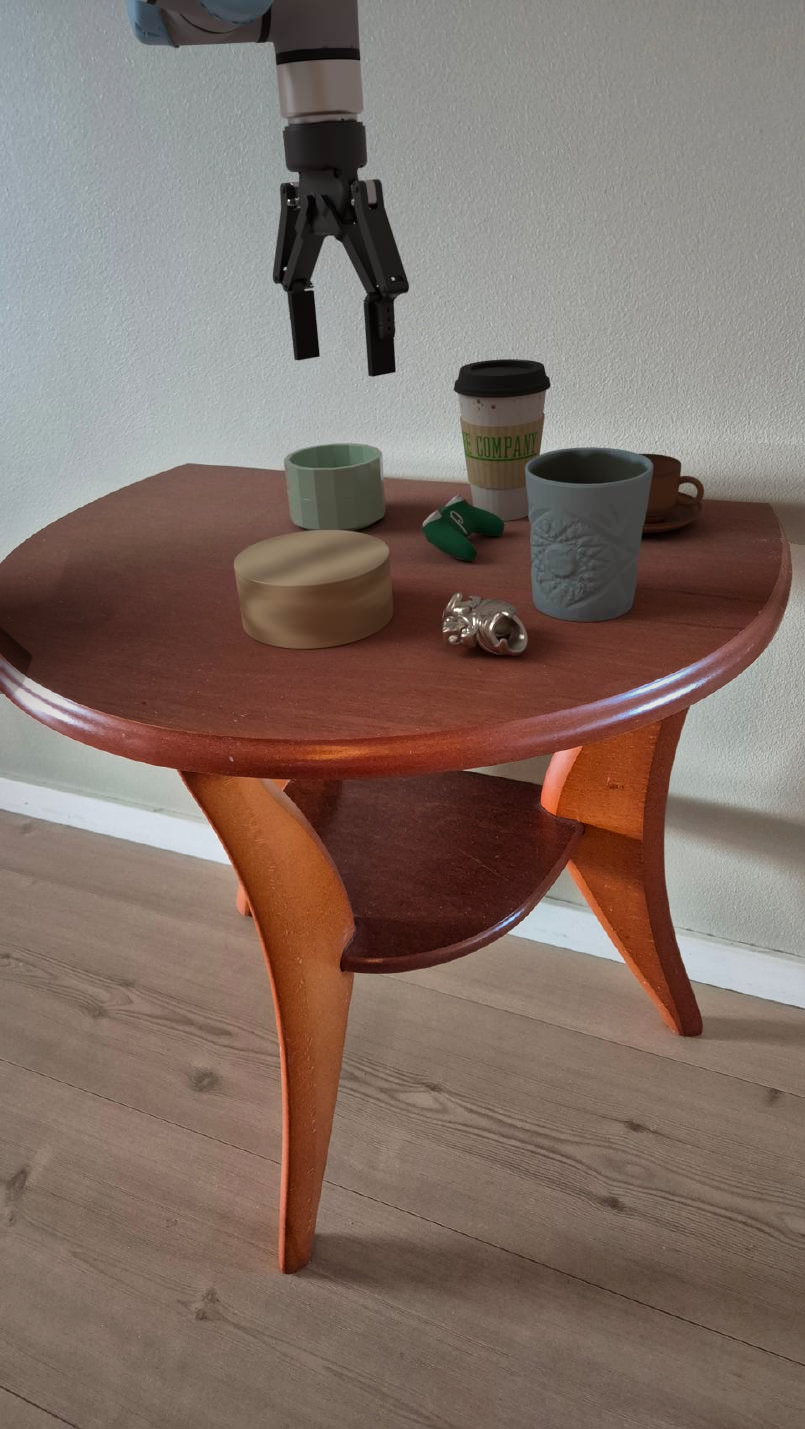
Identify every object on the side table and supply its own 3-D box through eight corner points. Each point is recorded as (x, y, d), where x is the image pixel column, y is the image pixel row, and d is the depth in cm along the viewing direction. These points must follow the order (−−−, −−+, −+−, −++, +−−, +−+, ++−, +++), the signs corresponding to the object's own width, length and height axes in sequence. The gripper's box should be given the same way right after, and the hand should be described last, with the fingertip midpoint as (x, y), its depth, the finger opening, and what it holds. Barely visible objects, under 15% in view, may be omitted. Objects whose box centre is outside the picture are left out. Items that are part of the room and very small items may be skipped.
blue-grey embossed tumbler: (618, 575, 90) (626, 442, 84) (662, 619, 81) (675, 474, 75) (510, 587, 88) (510, 453, 82) (543, 634, 80) (546, 488, 74)
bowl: (274, 520, 108) (266, 457, 105) (349, 499, 114) (344, 438, 110) (326, 543, 101) (319, 475, 98) (404, 519, 107) (400, 454, 103)
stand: (215, 615, 86) (205, 556, 84) (337, 576, 93) (332, 519, 90) (294, 664, 77) (287, 599, 75) (424, 616, 84) (421, 555, 81)
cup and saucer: (695, 505, 105) (701, 447, 102) (704, 544, 95) (711, 481, 92) (581, 504, 108) (583, 447, 105) (578, 542, 97) (580, 481, 94)
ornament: (414, 641, 80) (411, 599, 78) (480, 618, 83) (479, 577, 81) (476, 676, 74) (475, 631, 72) (544, 649, 77) (545, 606, 75)
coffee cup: (439, 518, 106) (434, 373, 99) (486, 493, 113) (484, 355, 106) (520, 532, 101) (521, 380, 94) (564, 504, 108) (568, 361, 100)
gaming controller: (486, 548, 102) (447, 505, 102) (510, 525, 100) (470, 481, 100) (451, 580, 95) (408, 534, 95) (476, 556, 93) (433, 509, 93)
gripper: (442, 110, 82) (449, 375, 93) (287, 127, 100) (308, 347, 110) (368, 113, 78) (385, 388, 89) (221, 129, 96) (249, 357, 107)
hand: (342, 366), depth 100 cm, fingers open, 13 cm apart
